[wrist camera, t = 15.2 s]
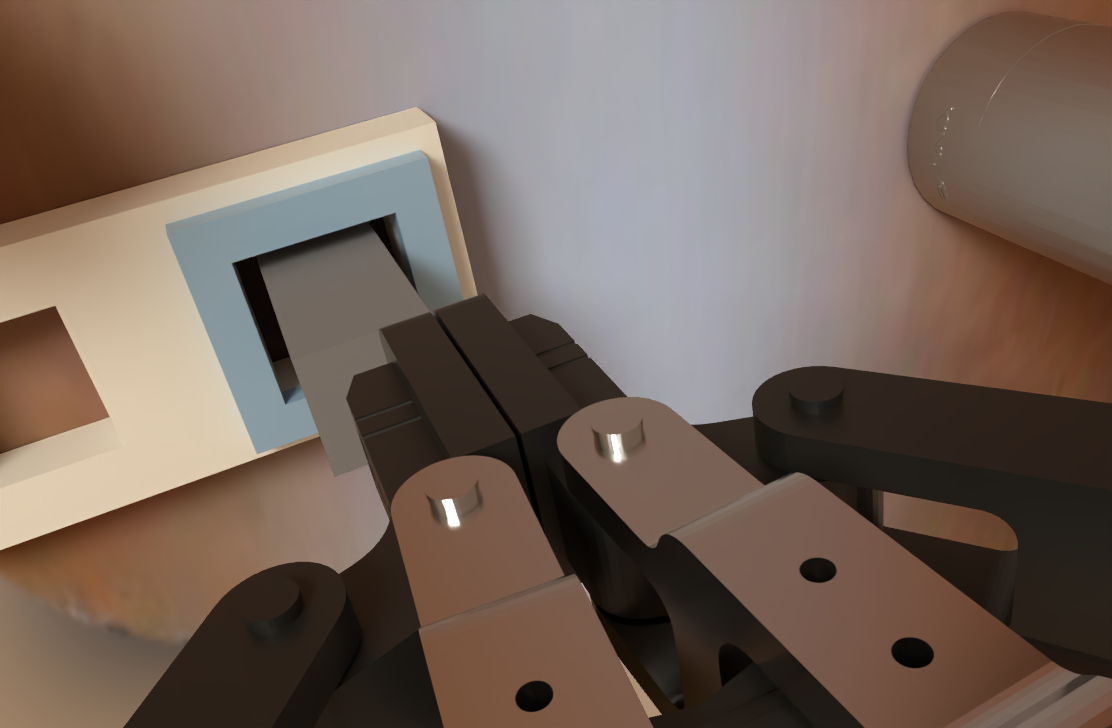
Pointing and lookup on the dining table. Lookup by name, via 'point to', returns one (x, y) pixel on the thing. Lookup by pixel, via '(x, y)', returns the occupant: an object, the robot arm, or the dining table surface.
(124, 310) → the socket block
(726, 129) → the dining table surface
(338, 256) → the plug
